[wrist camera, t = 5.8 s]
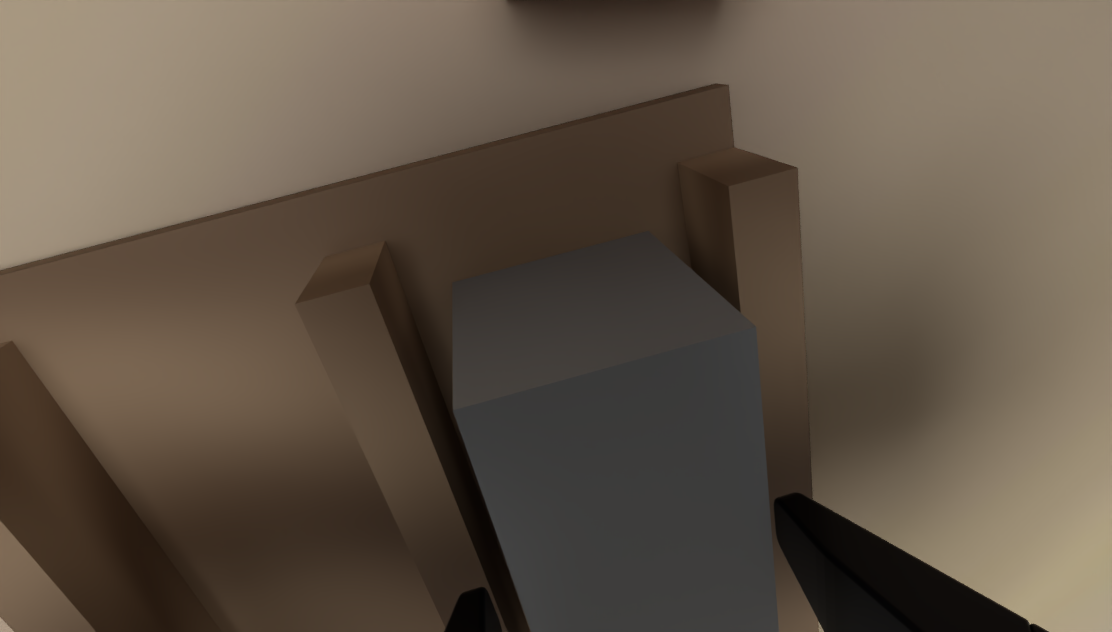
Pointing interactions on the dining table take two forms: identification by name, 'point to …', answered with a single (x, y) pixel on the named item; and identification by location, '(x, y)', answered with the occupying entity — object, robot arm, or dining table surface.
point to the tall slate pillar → (618, 441)
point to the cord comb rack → (345, 380)
